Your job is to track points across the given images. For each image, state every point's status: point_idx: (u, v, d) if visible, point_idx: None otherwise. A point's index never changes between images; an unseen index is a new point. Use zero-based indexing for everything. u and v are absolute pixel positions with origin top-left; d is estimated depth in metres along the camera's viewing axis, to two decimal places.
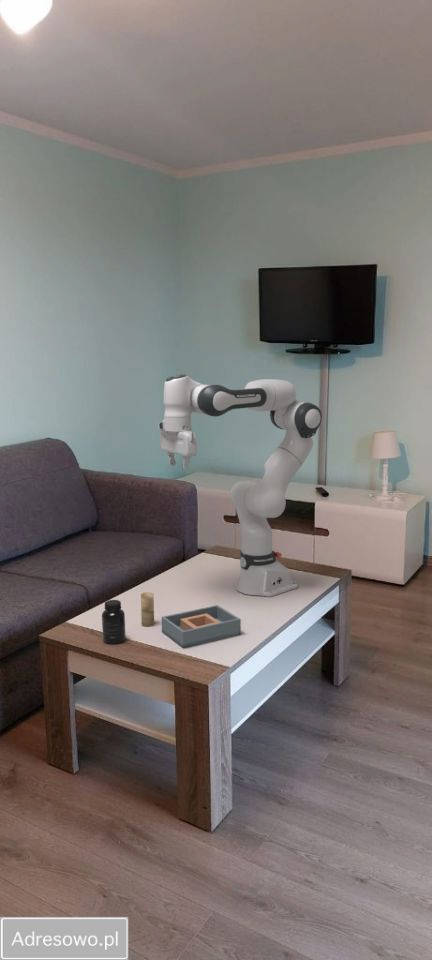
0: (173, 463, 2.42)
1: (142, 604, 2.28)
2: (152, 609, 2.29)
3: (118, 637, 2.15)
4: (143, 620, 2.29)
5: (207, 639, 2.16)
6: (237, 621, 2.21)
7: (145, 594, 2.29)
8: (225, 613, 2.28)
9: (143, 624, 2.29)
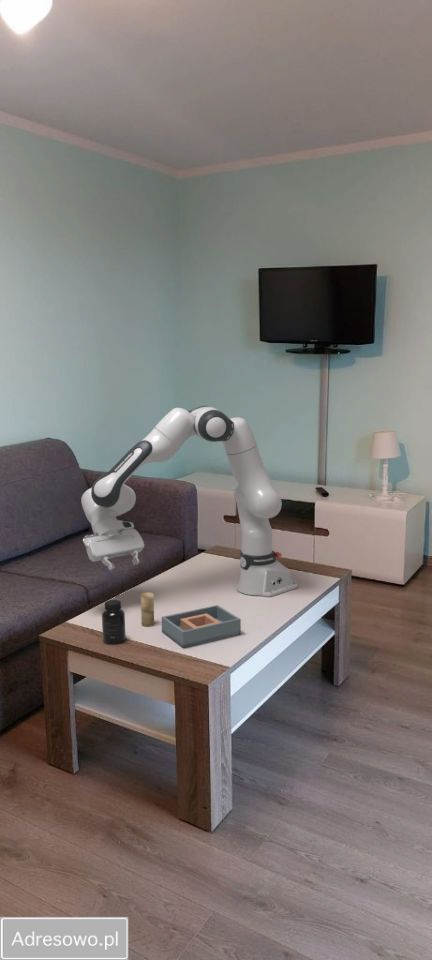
0: (134, 562, 2.40)
1: (142, 604, 2.28)
2: (152, 609, 2.29)
3: (118, 637, 2.15)
4: (143, 620, 2.29)
5: (207, 639, 2.16)
6: (237, 621, 2.21)
7: (145, 594, 2.29)
8: (225, 613, 2.28)
9: (143, 624, 2.29)
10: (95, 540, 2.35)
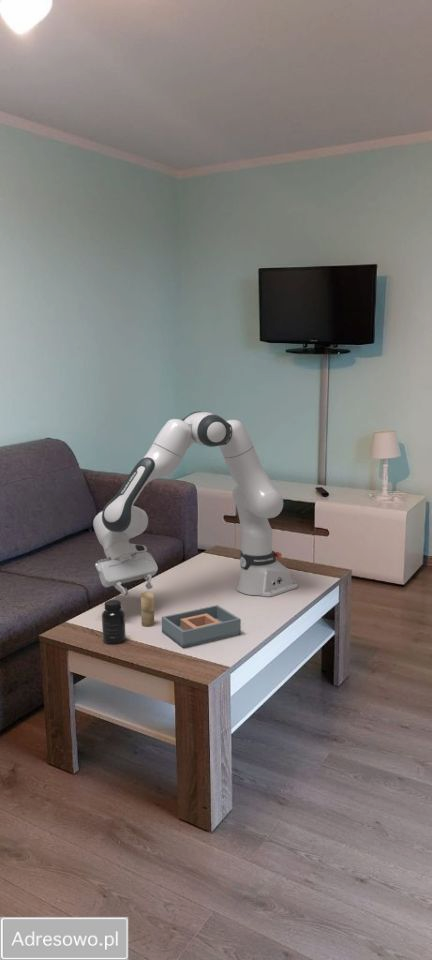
0: (147, 586, 2.35)
1: (142, 604, 2.28)
2: (152, 609, 2.29)
3: (118, 637, 2.15)
4: (143, 620, 2.29)
5: (207, 639, 2.16)
6: (237, 621, 2.21)
7: (145, 594, 2.29)
8: (225, 613, 2.28)
9: (143, 624, 2.29)
10: (108, 564, 2.31)
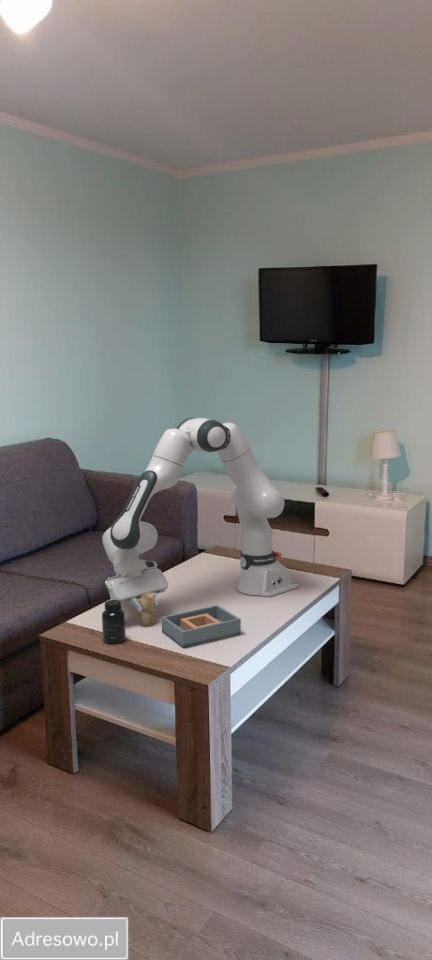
0: None
1: (142, 604, 2.28)
2: (152, 609, 2.29)
3: (118, 637, 2.15)
4: (143, 620, 2.29)
5: (207, 639, 2.16)
6: (237, 621, 2.21)
7: (145, 594, 2.29)
8: (225, 613, 2.28)
9: (143, 624, 2.29)
10: (118, 582, 2.28)
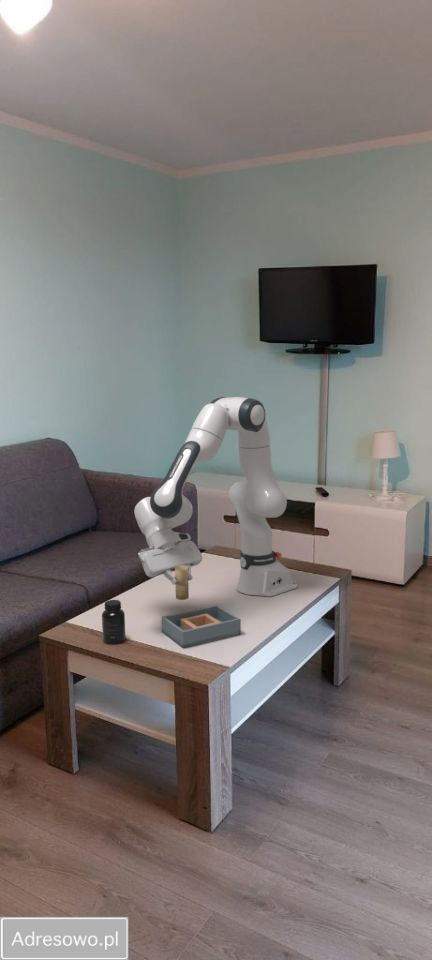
0: None
1: (176, 576, 2.22)
2: (186, 581, 2.22)
3: (118, 637, 2.15)
4: (177, 593, 2.22)
5: (207, 639, 2.16)
6: (237, 621, 2.21)
7: (179, 566, 2.22)
8: (225, 613, 2.28)
9: (177, 597, 2.23)
10: (151, 554, 2.21)
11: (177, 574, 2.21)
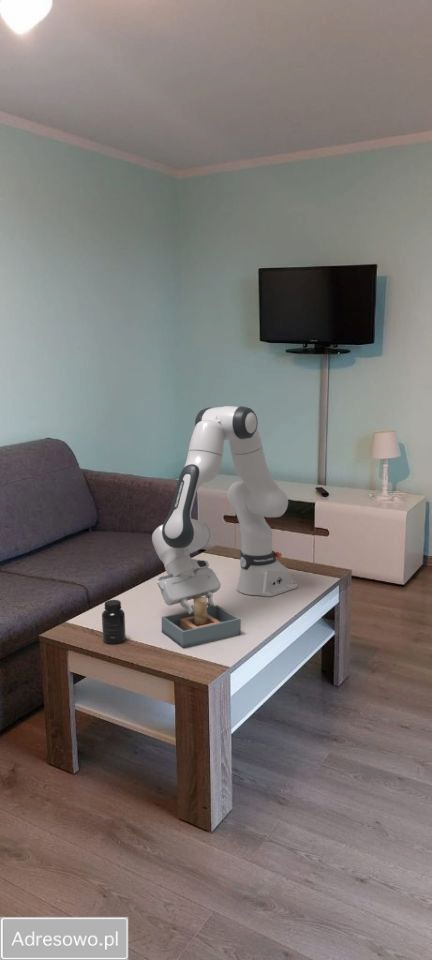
0: (209, 605, 2.24)
1: (195, 609, 2.21)
2: (205, 614, 2.21)
3: (118, 637, 2.15)
4: None
5: (207, 639, 2.16)
6: (237, 621, 2.21)
7: (198, 599, 2.21)
8: (225, 613, 2.28)
9: None
10: (170, 582, 2.20)
11: (196, 607, 2.20)
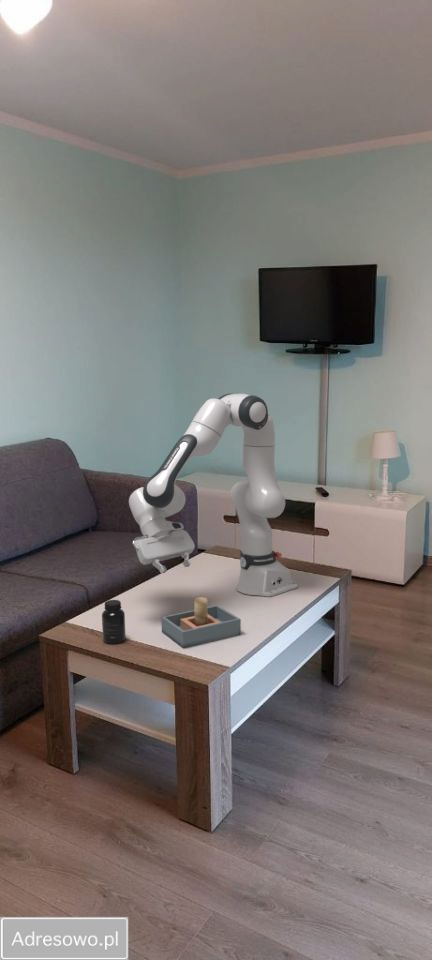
0: (185, 564, 2.32)
1: (196, 609, 2.21)
2: (206, 614, 2.21)
3: (118, 637, 2.15)
4: None
5: (207, 639, 2.16)
6: (237, 621, 2.21)
7: (199, 599, 2.21)
8: (225, 613, 2.28)
9: None
10: (145, 542, 2.28)
11: (196, 607, 2.20)
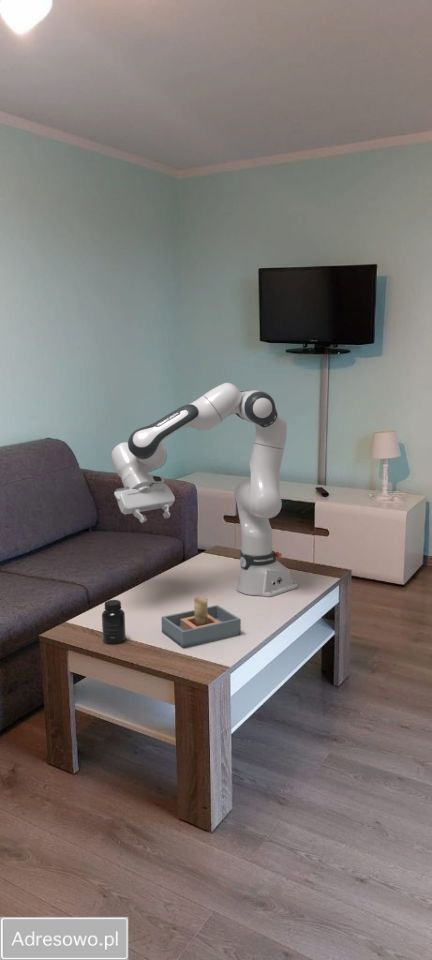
0: (165, 515, 2.40)
1: (196, 609, 2.21)
2: (206, 614, 2.21)
3: (118, 637, 2.15)
4: None
5: (207, 639, 2.16)
6: (237, 621, 2.21)
7: (199, 599, 2.21)
8: (225, 613, 2.28)
9: None
10: (126, 493, 2.35)
11: (196, 607, 2.20)
